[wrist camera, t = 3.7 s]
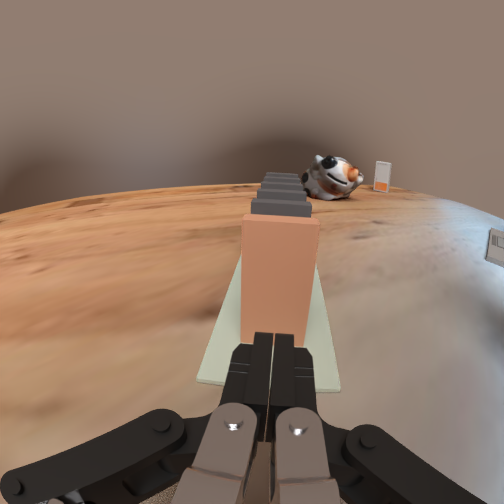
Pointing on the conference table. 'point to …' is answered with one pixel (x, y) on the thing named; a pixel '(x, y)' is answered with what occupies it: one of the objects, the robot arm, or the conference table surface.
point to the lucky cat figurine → (330, 178)
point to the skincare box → (382, 176)
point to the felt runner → (315, 341)
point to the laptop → (496, 247)
